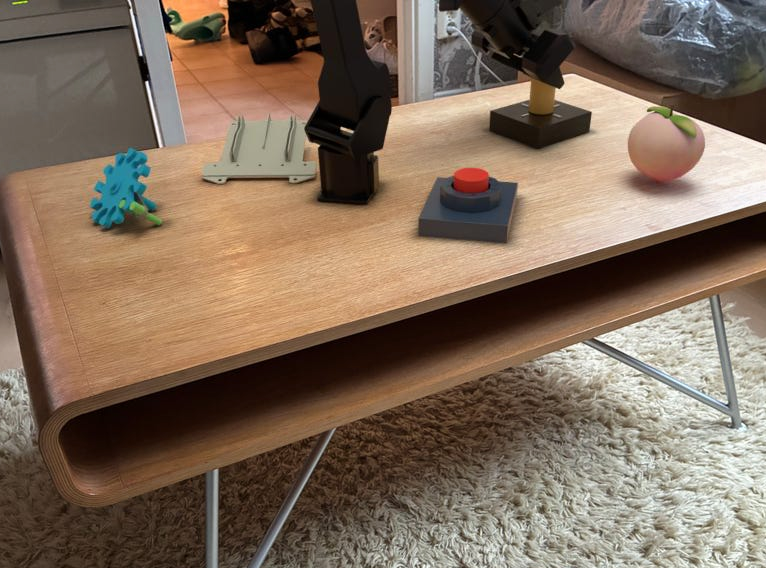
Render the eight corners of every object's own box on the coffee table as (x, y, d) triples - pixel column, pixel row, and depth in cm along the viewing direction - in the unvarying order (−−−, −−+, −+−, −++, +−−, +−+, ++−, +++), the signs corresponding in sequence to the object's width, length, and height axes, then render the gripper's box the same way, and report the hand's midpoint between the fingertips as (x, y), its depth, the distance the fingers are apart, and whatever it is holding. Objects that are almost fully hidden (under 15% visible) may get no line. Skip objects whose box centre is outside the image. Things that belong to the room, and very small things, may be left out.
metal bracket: (214, 106, 107) (321, 105, 106) (223, 141, 111) (325, 140, 111) (196, 171, 98) (312, 170, 98) (206, 206, 103) (317, 205, 102)
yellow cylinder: (541, 116, 110) (546, 56, 105) (523, 110, 112) (528, 51, 107) (558, 111, 112) (564, 51, 107) (540, 105, 114) (545, 47, 109)
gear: (77, 196, 93) (125, 131, 91) (119, 218, 97) (165, 156, 95) (100, 243, 86) (152, 173, 84) (144, 264, 90) (194, 198, 88)
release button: (485, 196, 86) (486, 182, 85) (450, 194, 87) (451, 179, 86) (490, 182, 89) (490, 168, 88) (456, 180, 90) (456, 166, 89)
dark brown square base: (537, 149, 108) (539, 127, 106) (488, 130, 114) (490, 109, 112) (589, 131, 113) (592, 110, 111) (540, 115, 120) (542, 94, 118)
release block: (506, 243, 85) (509, 210, 82) (418, 236, 86) (418, 203, 84) (516, 199, 94) (519, 168, 92) (436, 193, 96) (437, 162, 94)
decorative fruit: (606, 178, 99) (617, 100, 93) (652, 165, 102) (666, 89, 96) (660, 203, 92) (676, 122, 86) (707, 189, 96) (726, 109, 90)
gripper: (570, -36, 91) (631, 50, 101) (494, -55, 105) (553, 22, 115) (509, 41, 94) (574, 117, 104) (442, 12, 108) (505, 82, 117)
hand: (551, 81), depth 110 cm, fingers open, 5 cm apart
